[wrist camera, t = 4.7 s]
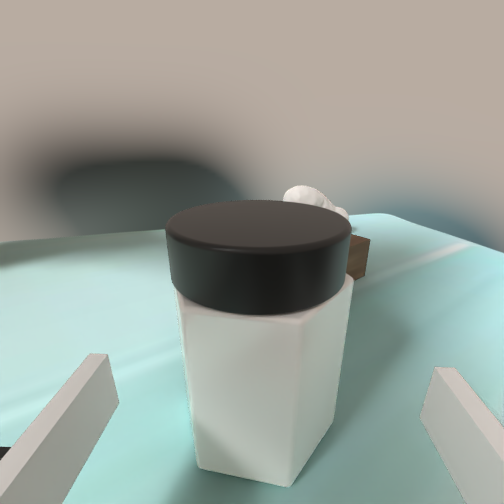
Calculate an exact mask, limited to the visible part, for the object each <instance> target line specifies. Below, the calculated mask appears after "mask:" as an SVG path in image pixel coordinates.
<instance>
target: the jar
mask: <svg viewBox="0 0 504 504" xmlns="http://www.w3.org/2000/svg"><path fill="white" fill-rule="evenodd" d="M165 231H166V239H167V248H168V256H169V264H170V273H171V280H172V283H173V285H174V294H175V303H176V311H177V320H178V328H179V337H180V345H181V354H182V362H183V371H184V379H185V388H186V397H187V403H188V410H189V416H190V423H191V429H192V436H193V442H194V449H195V456H196V462H197V466H198V467H199V468H200V469H204V470H209V471H213V472H218V473H223V474H227V475H232V476H236V477H241V478H246V479H250V480H255V481H259V482H264V483H269V484H273V485H278V486H282V487H290V486H291V485H292V484H293V482H294V481H295V479H296V478H297V476H298V475H299V473H300V472H301V470H302V468H303V467H304V465H305V464H306V462H307V461H308V459H309V458H310V456H311V455H312V453H313V452H314V450H315V449H316V447H317V446H318V444H319V443H320V441H321V439H322V438H323V436H324V435H325V433H326V432H327V430H328V429H329V427H330V426H331V424H332V423H333V420H334V414H335V407H336V400H337V393H338V386H339V380H340V373H341V366H342V359H343V352H344V345H345V339H346V332H347V325H348V318H349V311H350V304H351V298H352V291H353V284H354V280H353V278H352V277H351V276H349V275H348V274H346V269H347V261H348V254H349V246H350V239H351V231H352V228H351V224H350V223H349V221H348V220H347V219H346V218H345V217H343V216H342V215H340V214H339V213H337V212H334V211H332V210H329V209H326V208H322V207H319V206H314V205H309V204H303V203H296V202H287V201H272V200H271V201H270V200H243V201H229V202H218V203H212V204H206V205H201V206H197V207H193V208H189V209H187V210H184V211H181V212H179V213H177V214H176V215H174V216H173V217H171V218H170V219H169V221H168V222H167V224H166V228H165Z"/></svg>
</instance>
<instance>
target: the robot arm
mask: <svg viewBox="0 0 504 504" xmlns="http://www.w3.org/2000/svg"><path fill="white" fill-rule="evenodd" d="M118 404H119V399H118V395H117V391H116V387H115V383H114V378H113V374H112V370H111V366H110V362H109V357H108V354H89V355H88V356H87V358H86V359H85V360H84V361H83V362H82V363H81V365H80V366H79V367H78V368H77V369H76V371H75V372H74V373H73V374H72V375H71V377H70V378H69V379H68V380H67V381H66V383H65V384H64V385H63V386H62V387H61V389H60V390H59V391H58V392H57V393H56V395H55V396H54V397H53V398H52V399H51V401H50V402H49V403H48V404H47V405H46V407H45V408H44V409H43V410H42V411H41V413H40V414H39V415H38V416H37V417H36V418H35V420H34V421H33V422H32V423H31V424H30V426H29V427H28V428H27V429H26V430H25V432H24V433H23V434H22V435H21V436H20V438H19V439H18V440H17V441H16V442H15V444H14V445H13V446H12V447H0V504H62V503H63V501H64V500H65V498H66V496H67V494H68V493H69V491H70V489H71V487H72V485H73V484H74V482H75V480H76V478H77V477H78V475H79V473H80V471H81V470H82V468H83V466H84V464H85V463H86V461H87V459H88V457H89V456H90V454H91V452H92V450H93V448H94V447H95V445H96V443H97V441H98V440H99V438H100V436H101V434H102V433H103V431H104V429H105V427H106V426H107V424H108V422H109V420H110V419H111V417H112V415H113V413H114V411H115V410H116V408H117V406H118ZM419 418H420V420H421V421H422V423H423V425H424V427H425V429H426V431H427V433H428V434H429V436H430V438H431V440H432V442H433V444H434V445H435V447H436V449H437V451H438V453H439V455H440V457H441V458H442V460H443V462H444V464H445V466H446V468H447V470H448V471H449V473H450V475H451V477H452V479H453V481H454V483H455V484H456V486H457V488H458V490H459V492H460V494H461V495H462V497H463V499H464V501H465V503H466V504H504V427H503V426H502V425H501V424H500V423H499V421H498V420H497V419H496V418H495V416H494V415H493V414H492V413H491V411H490V410H489V409H488V408H487V407H486V405H485V404H484V403H483V402H482V400H481V399H480V398H479V397H478V395H477V394H476V393H475V392H474V391H473V389H472V388H471V387H470V386H469V384H468V383H467V382H466V381H465V380H464V378H463V377H462V376H461V375H460V373H459V372H458V371H457V370H456V368H448V367H434V371H433V374H432V377H431V381H430V384H429V387H428V391H427V394H426V397H425V400H424V404H423V407H422V410H421V414H420V417H419Z"/></svg>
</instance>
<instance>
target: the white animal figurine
mask: <svg viewBox="0 0 504 504" xmlns="http://www.w3.org/2000/svg"><path fill="white" fill-rule="evenodd" d="M283 201H287V202H296V203H303V204H309V205H314V206H319V207H322V208H326V209H329V210H332V211H334V212H337V213H339V214H340V215H342V216H343V217H345V218H346V219H347V220H349V217H348V214H347V212H346V211H345V210H344V209H342V208H340V207H335V206H334V205H333V204H331V202H330V201H329V200H328V199H327V198H326V196H325V195H323V194H322V193H321V192H319V191H318V190H317V189H315V188H312V187H308V186H301V185H299V186H295V187H293V188H291V189H289V190H287V191H286V193H285V195H284V198H283Z"/></svg>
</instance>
